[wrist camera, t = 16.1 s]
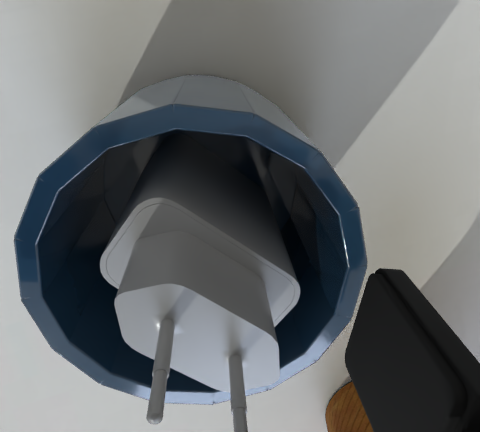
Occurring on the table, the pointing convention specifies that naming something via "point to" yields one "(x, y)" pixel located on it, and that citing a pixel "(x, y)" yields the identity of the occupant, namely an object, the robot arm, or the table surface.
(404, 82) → the table surface
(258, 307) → the power adapter
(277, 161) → the desk cup
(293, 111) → the table surface
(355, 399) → the disposable coffee cup
